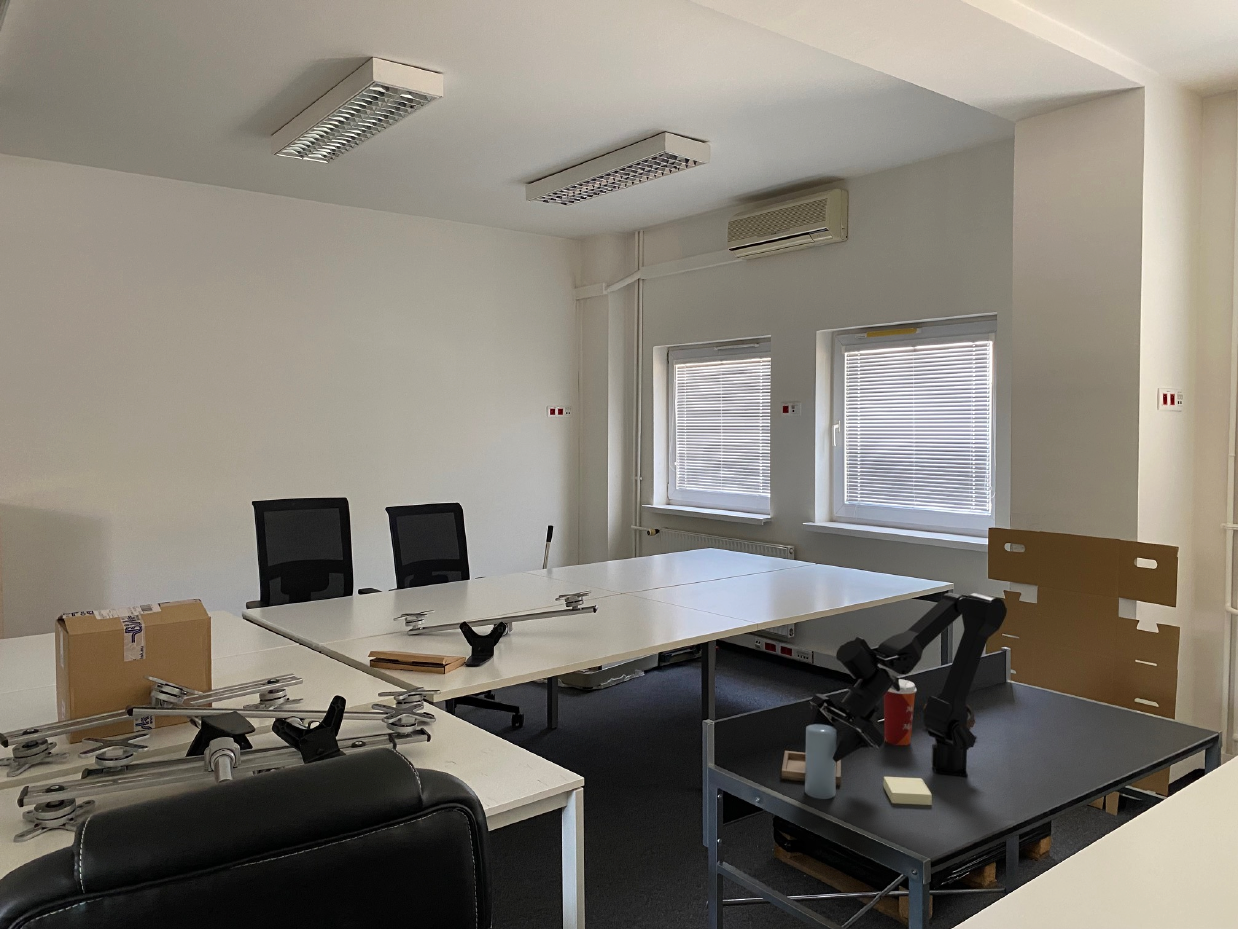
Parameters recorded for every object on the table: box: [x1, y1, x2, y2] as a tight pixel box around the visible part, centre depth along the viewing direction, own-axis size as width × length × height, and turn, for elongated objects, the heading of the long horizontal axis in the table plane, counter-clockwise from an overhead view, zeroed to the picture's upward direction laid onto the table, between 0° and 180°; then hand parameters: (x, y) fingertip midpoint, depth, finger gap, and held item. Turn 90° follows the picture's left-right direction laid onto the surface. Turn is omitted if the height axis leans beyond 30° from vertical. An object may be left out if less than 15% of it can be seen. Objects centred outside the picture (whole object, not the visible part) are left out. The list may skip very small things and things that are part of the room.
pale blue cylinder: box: [804, 724, 838, 800], centre depth 174 cm, size 6×6×13 cm
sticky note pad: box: [883, 776, 933, 806], centre depth 173 cm, size 8×8×2 cm
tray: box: [781, 750, 842, 786], centre depth 184 cm, size 12×11×2 cm
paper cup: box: [883, 678, 917, 747], centre depth 202 cm, size 8×8×14 cm
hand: (820, 752), depth 174 cm, fingers open, 9 cm apart
